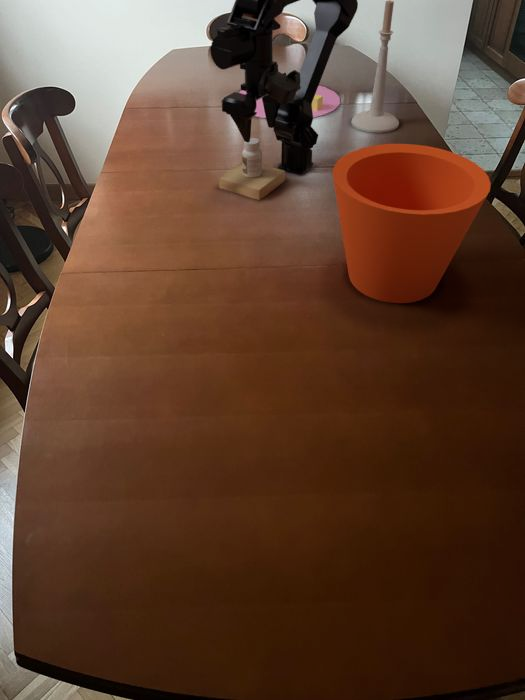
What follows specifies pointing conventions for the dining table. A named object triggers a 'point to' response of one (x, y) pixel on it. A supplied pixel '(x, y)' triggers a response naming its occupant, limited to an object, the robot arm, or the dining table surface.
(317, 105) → the platter
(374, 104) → the candlestick
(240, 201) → the dining table surface
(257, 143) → the pill bottle
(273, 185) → the birch board
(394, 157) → the flowerpot
